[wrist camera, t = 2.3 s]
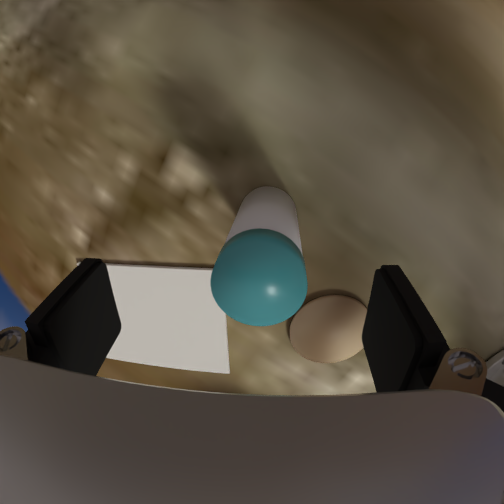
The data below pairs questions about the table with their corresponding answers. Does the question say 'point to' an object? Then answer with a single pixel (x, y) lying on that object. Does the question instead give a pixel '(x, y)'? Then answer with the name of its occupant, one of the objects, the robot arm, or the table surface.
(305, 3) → the table surface
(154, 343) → the paper
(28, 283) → the table surface
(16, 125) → the table surface
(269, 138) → the table surface
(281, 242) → the marker
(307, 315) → the disc
